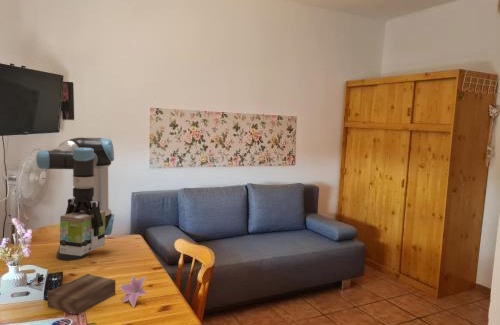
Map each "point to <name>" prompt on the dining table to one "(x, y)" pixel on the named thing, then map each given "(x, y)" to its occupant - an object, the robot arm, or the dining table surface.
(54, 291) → the walnut block
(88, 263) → the dining table surface
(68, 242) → the tea box
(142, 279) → the lily
